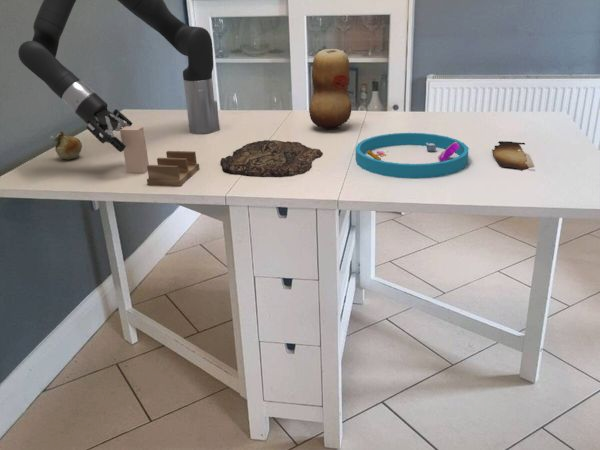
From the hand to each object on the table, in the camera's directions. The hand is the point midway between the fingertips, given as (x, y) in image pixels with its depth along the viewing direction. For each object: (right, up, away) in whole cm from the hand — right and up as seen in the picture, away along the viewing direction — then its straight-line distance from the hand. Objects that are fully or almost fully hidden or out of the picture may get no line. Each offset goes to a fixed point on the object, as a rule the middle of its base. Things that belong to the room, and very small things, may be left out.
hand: (131, 145), depth 159 cm
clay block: (+1, -7, +3) cm, 7 cm away
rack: (+12, -9, -3) cm, 15 cm away
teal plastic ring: (+76, -4, +3) cm, 76 cm away
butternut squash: (+56, +10, +36) cm, 67 cm away
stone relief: (+38, -4, +8) cm, 39 cm away
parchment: (+103, -3, +3) cm, 103 cm away
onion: (-23, -2, +16) cm, 28 cm away
